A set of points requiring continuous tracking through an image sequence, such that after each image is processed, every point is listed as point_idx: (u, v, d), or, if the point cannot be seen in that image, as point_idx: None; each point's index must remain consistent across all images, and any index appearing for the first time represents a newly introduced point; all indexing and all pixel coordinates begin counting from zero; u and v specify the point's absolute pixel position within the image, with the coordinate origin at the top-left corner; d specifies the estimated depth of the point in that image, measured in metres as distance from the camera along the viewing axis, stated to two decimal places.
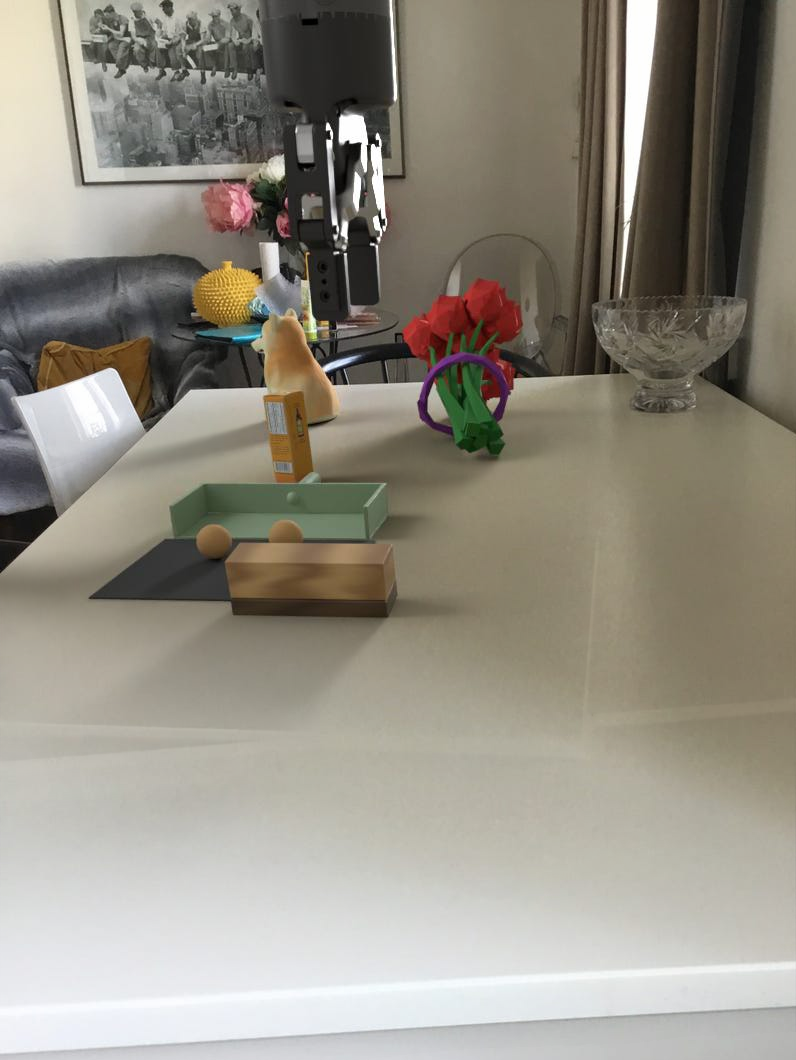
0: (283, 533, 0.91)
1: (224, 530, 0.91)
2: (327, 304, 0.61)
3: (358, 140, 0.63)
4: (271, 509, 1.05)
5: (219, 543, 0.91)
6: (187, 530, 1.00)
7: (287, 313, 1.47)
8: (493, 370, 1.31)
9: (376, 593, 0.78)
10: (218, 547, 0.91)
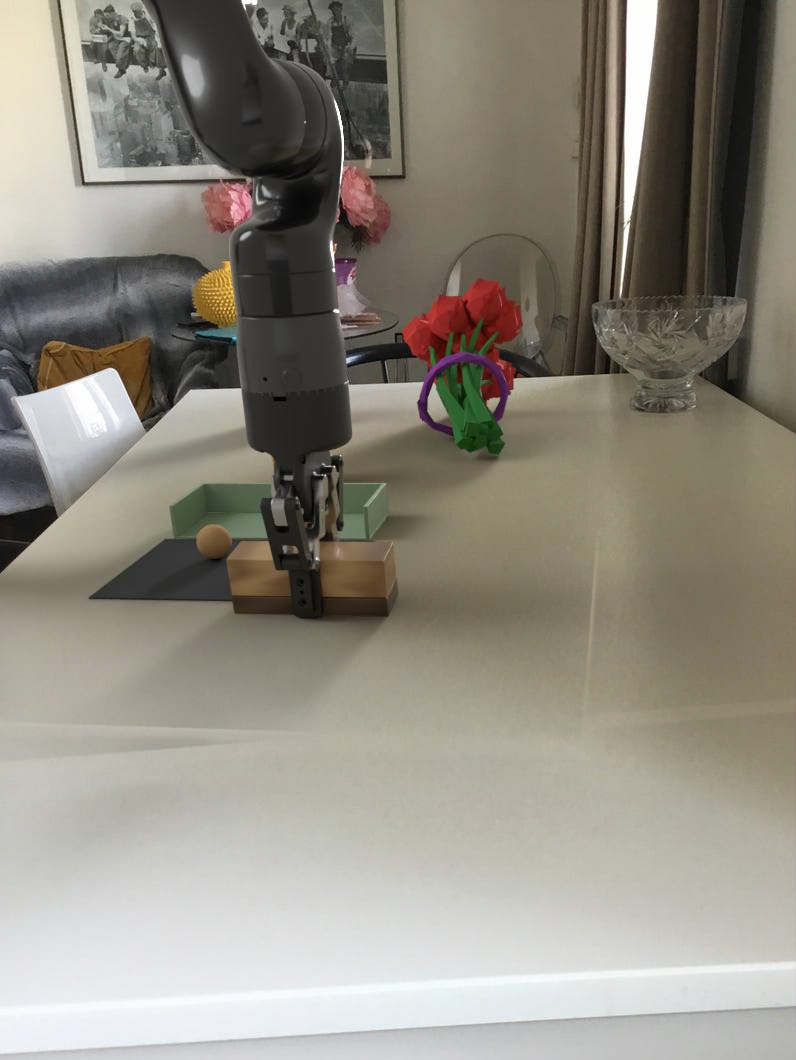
0: None
1: (224, 530, 0.91)
2: (304, 608, 0.78)
3: (322, 463, 0.78)
4: None
5: (219, 543, 0.91)
6: (187, 530, 1.00)
7: None
8: (493, 370, 1.31)
9: (377, 590, 0.78)
10: (218, 547, 0.91)
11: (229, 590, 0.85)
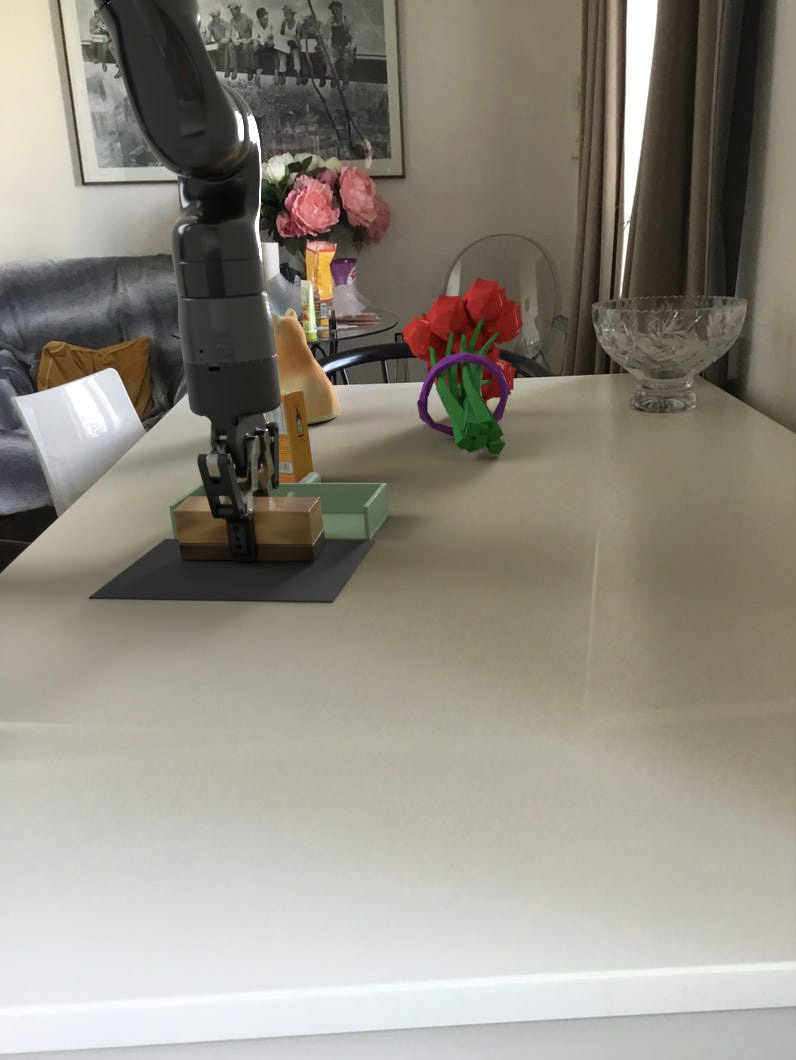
0: None
1: None
2: (240, 553, 0.89)
3: (256, 427, 0.89)
4: None
5: None
6: None
7: (287, 313, 1.47)
8: (493, 370, 1.31)
9: (304, 538, 0.90)
10: None
11: (229, 590, 0.85)
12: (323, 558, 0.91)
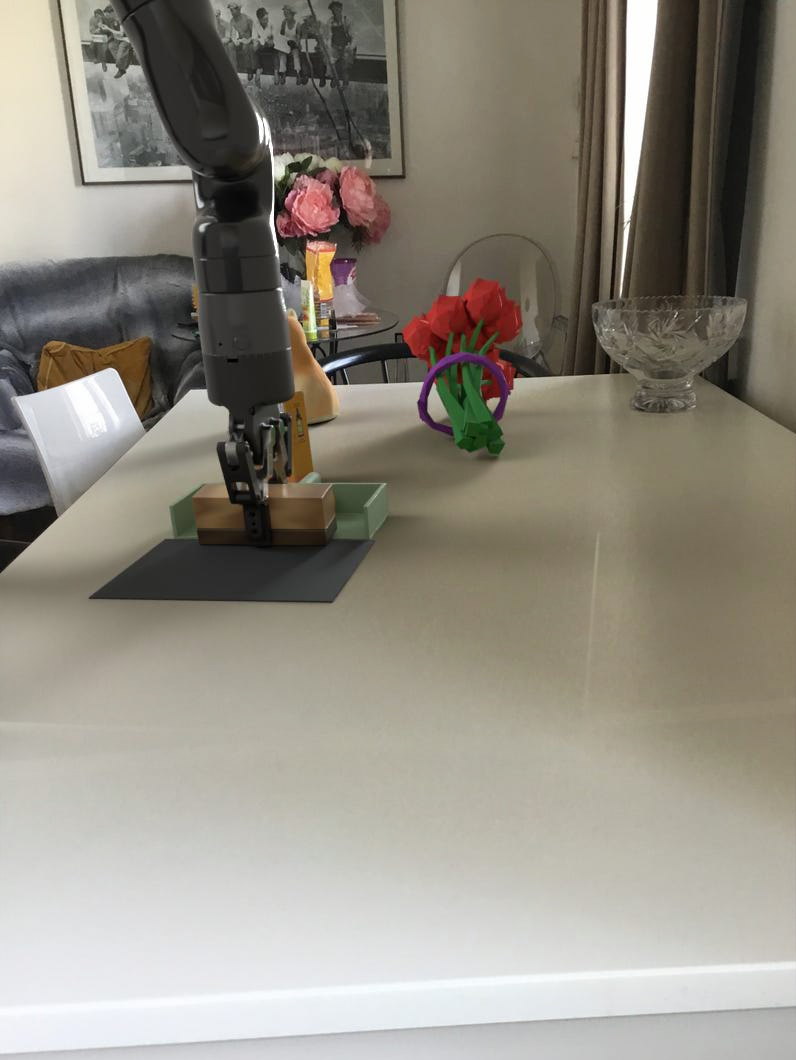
0: None
1: None
2: (256, 537, 0.93)
3: (270, 417, 0.93)
4: None
5: None
6: (187, 530, 1.00)
7: (287, 313, 1.47)
8: (493, 370, 1.31)
9: (317, 523, 0.94)
10: None
11: (229, 590, 0.85)
12: (323, 558, 0.91)
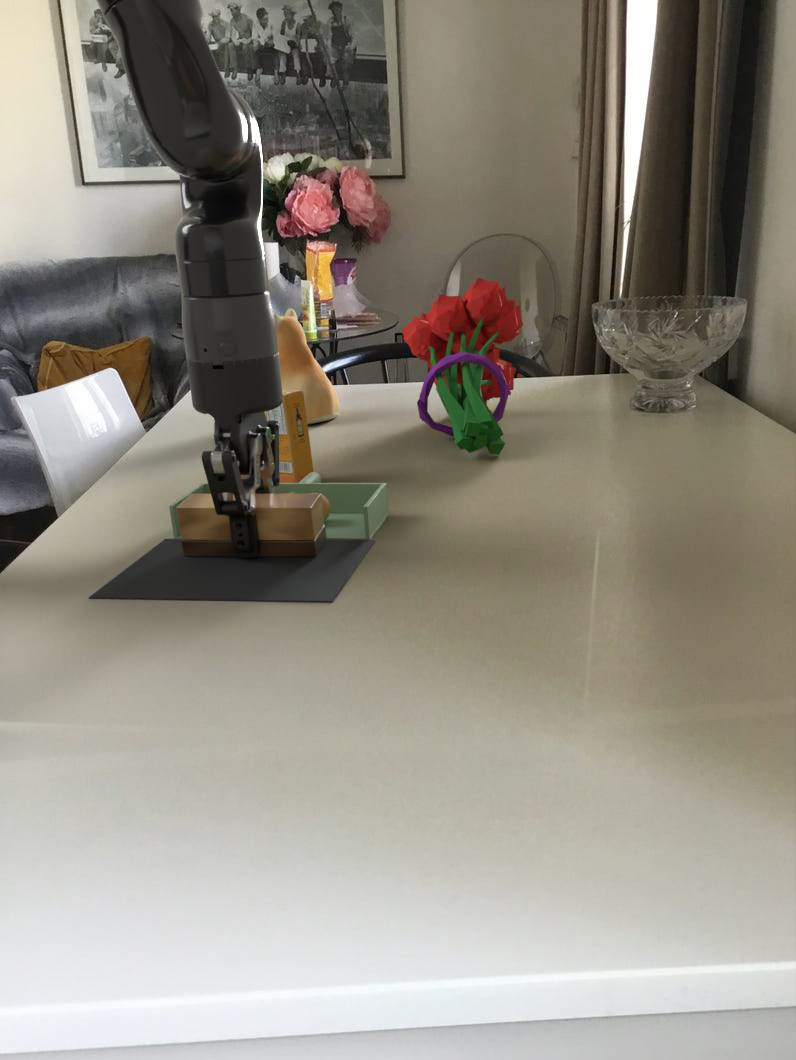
0: None
1: None
2: (243, 549, 0.91)
3: (257, 425, 0.91)
4: None
5: None
6: None
7: (287, 313, 1.47)
8: (493, 370, 1.31)
9: (306, 534, 0.91)
10: None
11: (229, 590, 0.85)
12: (323, 558, 0.91)
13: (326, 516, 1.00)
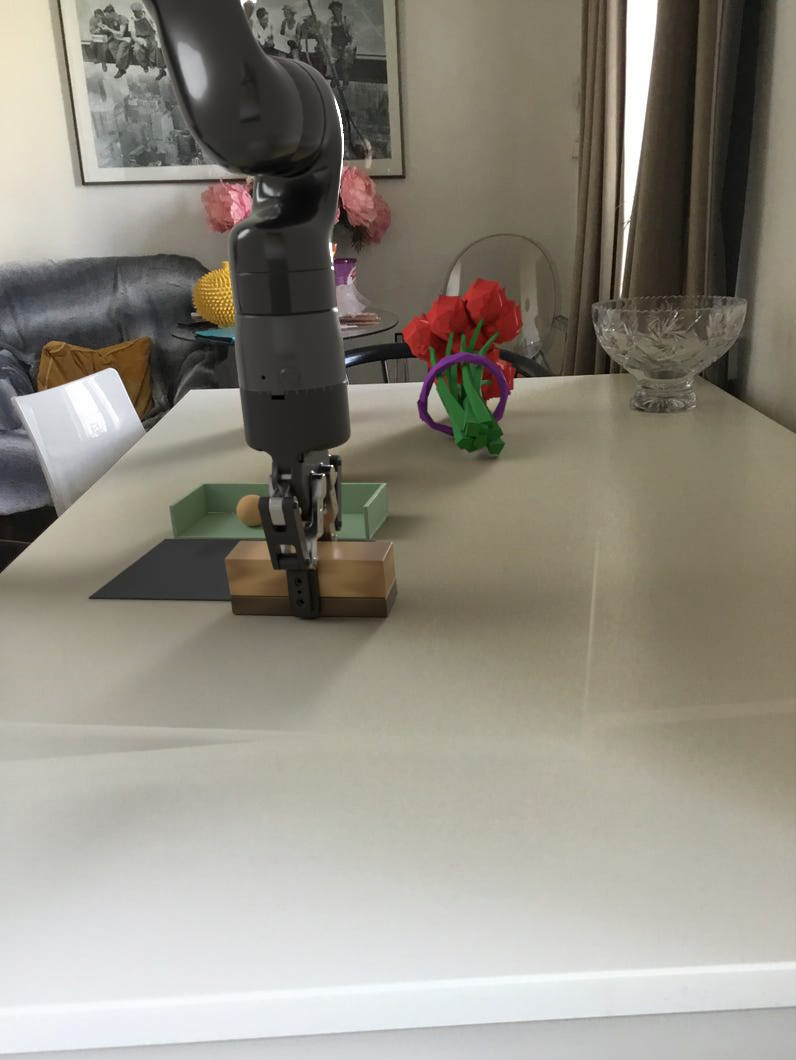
0: None
1: None
2: (302, 608, 0.77)
3: (320, 463, 0.77)
4: None
5: None
6: (187, 530, 1.00)
7: None
8: (493, 370, 1.31)
9: (376, 590, 0.78)
10: (257, 514, 0.99)
11: (229, 590, 0.85)
12: None
13: None
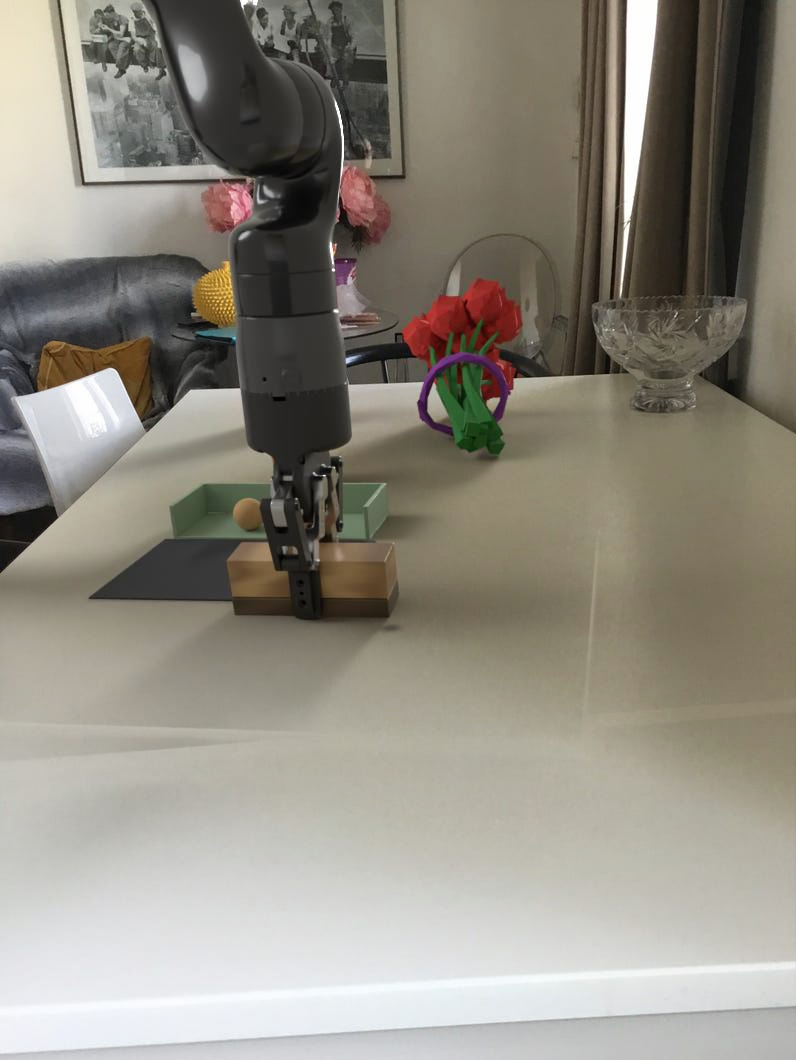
0: None
1: (258, 507, 0.99)
2: (304, 609, 0.77)
3: (321, 464, 0.78)
4: None
5: (257, 522, 0.99)
6: (187, 530, 1.00)
7: None
8: (493, 370, 1.31)
9: (378, 591, 0.78)
10: (256, 525, 0.99)
11: (229, 590, 0.85)
12: None
13: None
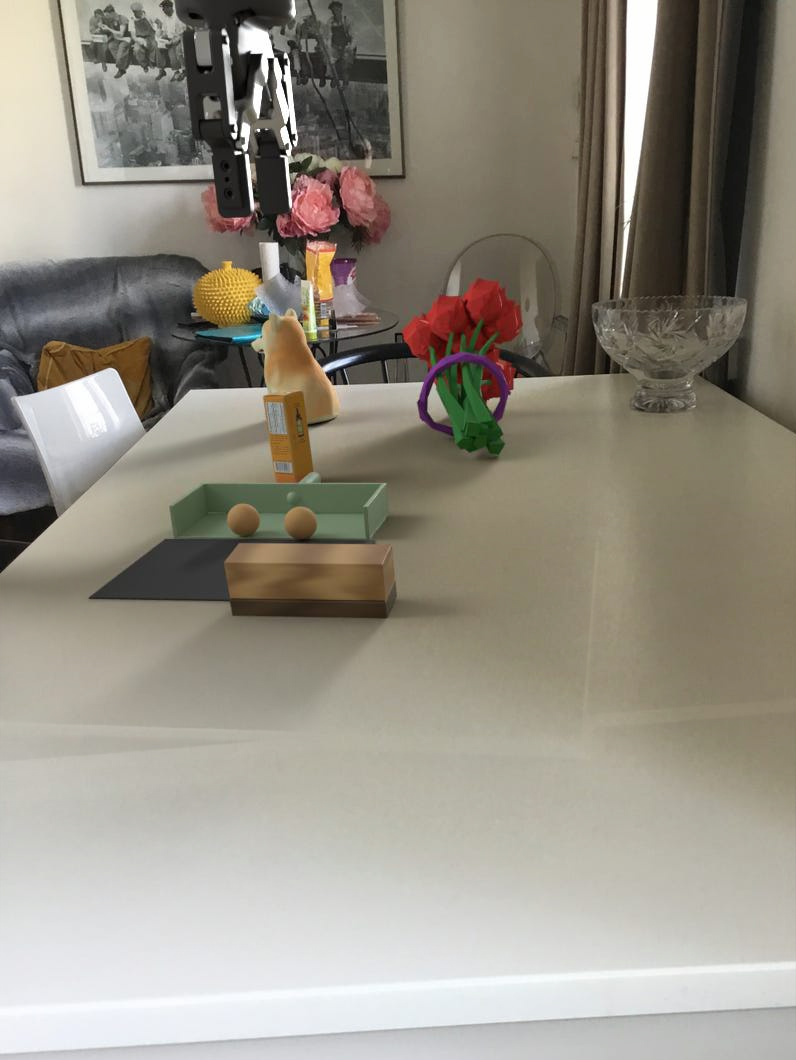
0: None
1: (253, 526, 0.97)
2: (230, 201, 0.67)
3: None
4: (271, 509, 1.05)
5: None
6: (187, 530, 1.00)
7: (287, 313, 1.47)
8: (493, 370, 1.31)
9: (376, 593, 0.78)
10: None
11: None
12: None
13: (314, 515, 0.96)
